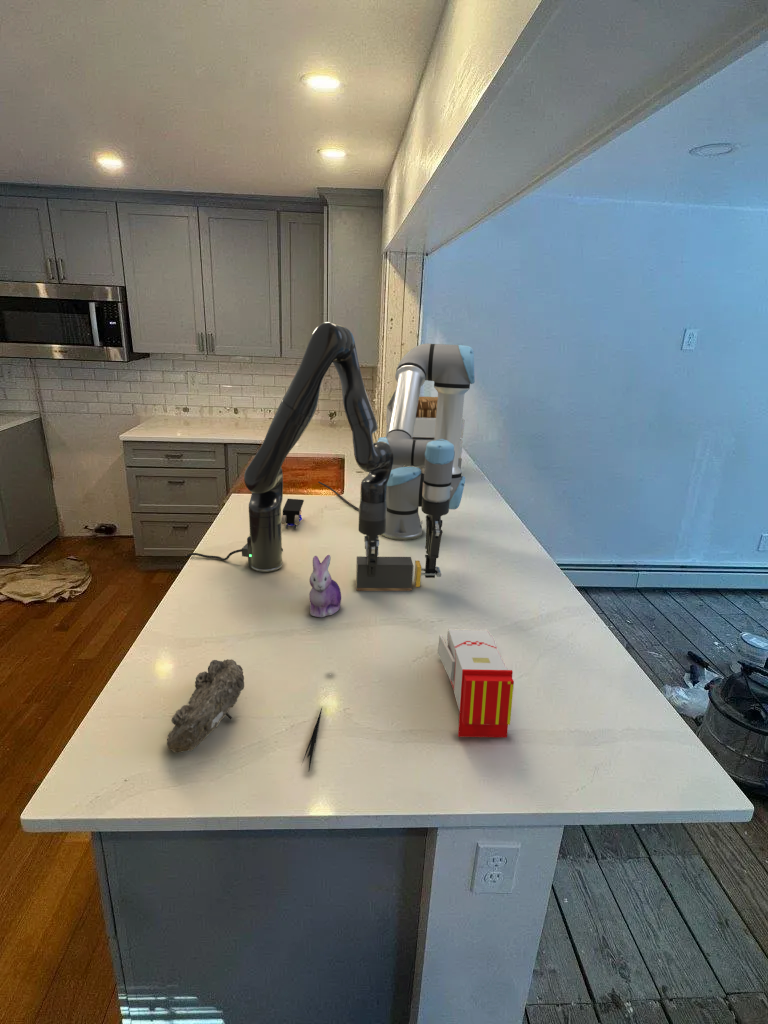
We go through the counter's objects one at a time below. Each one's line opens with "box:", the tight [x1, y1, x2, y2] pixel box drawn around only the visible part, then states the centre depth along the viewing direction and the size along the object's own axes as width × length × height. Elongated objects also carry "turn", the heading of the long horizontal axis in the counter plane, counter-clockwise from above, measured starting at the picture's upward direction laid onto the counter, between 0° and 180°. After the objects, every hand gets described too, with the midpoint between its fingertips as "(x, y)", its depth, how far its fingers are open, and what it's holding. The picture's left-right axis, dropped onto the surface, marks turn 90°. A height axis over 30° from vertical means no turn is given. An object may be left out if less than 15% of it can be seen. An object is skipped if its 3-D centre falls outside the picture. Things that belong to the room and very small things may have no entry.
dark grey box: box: [355, 555, 414, 592], centre depth 161 cm, size 16×6×8 cm, turn 95°
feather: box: [301, 673, 332, 771], centre depth 108 cm, size 2×28×2 cm
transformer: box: [385, 391, 465, 470], centre depth 268 cm, size 34×33×41 cm
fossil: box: [166, 658, 245, 754], centre depth 106 cm, size 22×10×15 cm
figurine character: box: [281, 498, 305, 530], centre depth 203 cm, size 7×8×15 cm
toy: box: [437, 628, 515, 738], centre depth 117 cm, size 12×13×30 cm
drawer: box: [413, 560, 442, 588], centre depth 161 cm, size 20×4×6 cm, turn 95°
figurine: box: [308, 554, 342, 618], centre depth 145 cm, size 9×10×15 cm
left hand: (370, 571), depth 160 cm, fingers closed on dark grey box, 5 cm apart
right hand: (429, 576), depth 162 cm, fingers closed
